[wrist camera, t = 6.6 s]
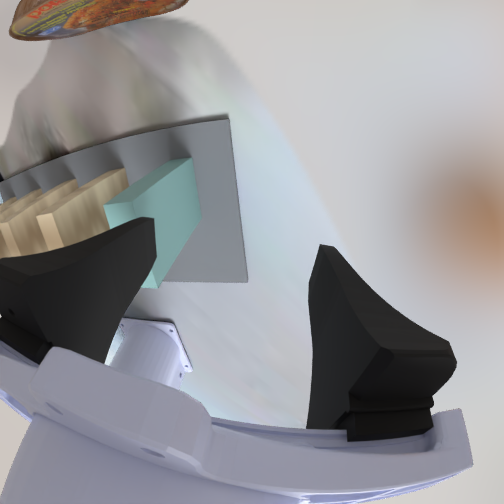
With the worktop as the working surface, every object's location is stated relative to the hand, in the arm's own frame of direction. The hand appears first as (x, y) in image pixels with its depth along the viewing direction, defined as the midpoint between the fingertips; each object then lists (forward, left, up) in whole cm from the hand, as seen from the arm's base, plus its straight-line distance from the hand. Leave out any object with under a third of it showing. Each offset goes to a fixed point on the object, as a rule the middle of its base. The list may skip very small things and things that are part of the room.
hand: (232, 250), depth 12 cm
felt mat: (-2, +17, -10) cm, 20 cm away
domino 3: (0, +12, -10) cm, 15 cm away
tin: (+17, +10, -10) cm, 22 cm away
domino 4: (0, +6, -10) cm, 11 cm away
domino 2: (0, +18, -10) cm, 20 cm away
